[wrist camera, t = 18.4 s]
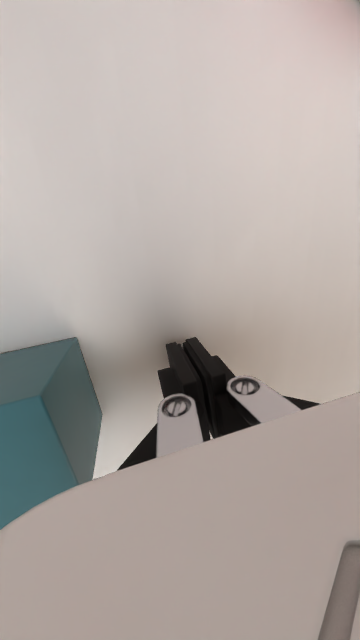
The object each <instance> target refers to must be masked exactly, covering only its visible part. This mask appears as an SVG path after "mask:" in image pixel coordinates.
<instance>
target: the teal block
mask: <svg viewBox="0 0 360 640" xmlns="http://www.w3.org/2000/svg"><path fill="white" fill-rule="evenodd" d="M101 420H102V412H101V409H100V406H99V403H98V400H97V397H96V394H95V391H94V388H93V385H92V382H91V379H90V376H89V373H88V370H87V367H86V364H85V361H84V358H83V355H82V352H81V349H80V346H79V343H78V340H77V338H71V339H66V340H61V341H57V342H52V343H48V344H43V345H39V346H34V347H30V348H25V349H21V350H16V351H11V352H7V353H2V354H0V530H1V529H2V528H3V527H5V526H6V525H7V524H9V523H10V522H12V521H13V520H15V519H16V518H18V517H19V516H21V515H22V514H24V513H25V512H27V511H28V510H30V509H31V508H33V507H35V506H37V505H38V504H40V503H42V502H44V501H46V500H48V499H49V498H51V497H53V496H55V495H57V494H59V493H62V492H64V491H66V490H68V489H70V488H73V487H75V486H77V485H80V484H83V483H85V482H88V481H91V480H92V478H93V472H94V465H95V459H96V452H97V446H98V440H99V433H100V427H101Z"/></svg>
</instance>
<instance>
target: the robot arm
mask: <svg viewBox="0 0 360 640" xmlns="http://www.w3.org/2000/svg"><path fill="white" fill-rule="evenodd" d="M166 349H167V354H168V359H169V364H170V368H166V369H162V370H158V375H159V380H160V384H161V389H162V393H163V397H164V399H163V400H162V401H161V403H160V404H159V406H158V417H157V424H156V425H155V426H154V427H153V428H152V430H151V431H150V432H149V433H148V434H147V436H146V437H145V438H144V439H143V440H142V441H141V443H140V444H139V445H138V446H137V447H136V449H135V450H134V451H133V452H132V453H131V454H130V456H129V457H128V458H127V459H126V460H125V462H124V463H123V464H122V465H121V466H120V467H119V469H118V470H117V471H115V472H113V473H110V474H107V475H105V476H102V477H99V478H96V479H94V480H91V481H88V482H85V483H83V484H80V485H77V486H75V487H73V488H70V489H68V490H66V491H64V492H62V493H59V494H57V495H55V496H53V497H51V498H49V499H48V500H46V501H44V502H42V503H40V504H38V505H37V506H35V507H33V508H31V509H30V510H28V511H27V512H25V513H24V514H22V515H21V516H19V517H18V518H16V519H15V520H13V521H12V522H10V523H9V524H7V525H6V526H5V527H3V528H2V529H1V530H0V640H360V392H358V393H354V394H351V395H348V396H345V397H342V398H339V399H336V400H332V401H329V402H326V403H323V404H319V403H315V402H310V401H305V400H300V399H296V398H291V397H286V396H282V395H280V394H279V393H277V392H276V391H274V390H273V389H272V388H270V387H269V386H267V385H266V384H265V383H263V382H262V381H260V380H259V379H257V378H255V377H252V376H245V375H244V376H237V377H236V376H235V375H234V374H233V373H232V372H231V371H230V369H229V368H228V367H227V366H226V365H225V364H224V363H223V361H222V360H221V359H220V358H219V357H218V356H211V355H210V354H209V353H208V351H207V350H206V349H205V348H204V347H203V345H202V344H201V343H200V342H199V340H198V339H197V338H196V337H194V338H190V339H186V342H184V343H183V348H182V346H181V344H177V343H176V342H173V343H169V344H166ZM209 431H210V433H211V435H212V437H213V439H212V440H210V433H209Z"/></svg>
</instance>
